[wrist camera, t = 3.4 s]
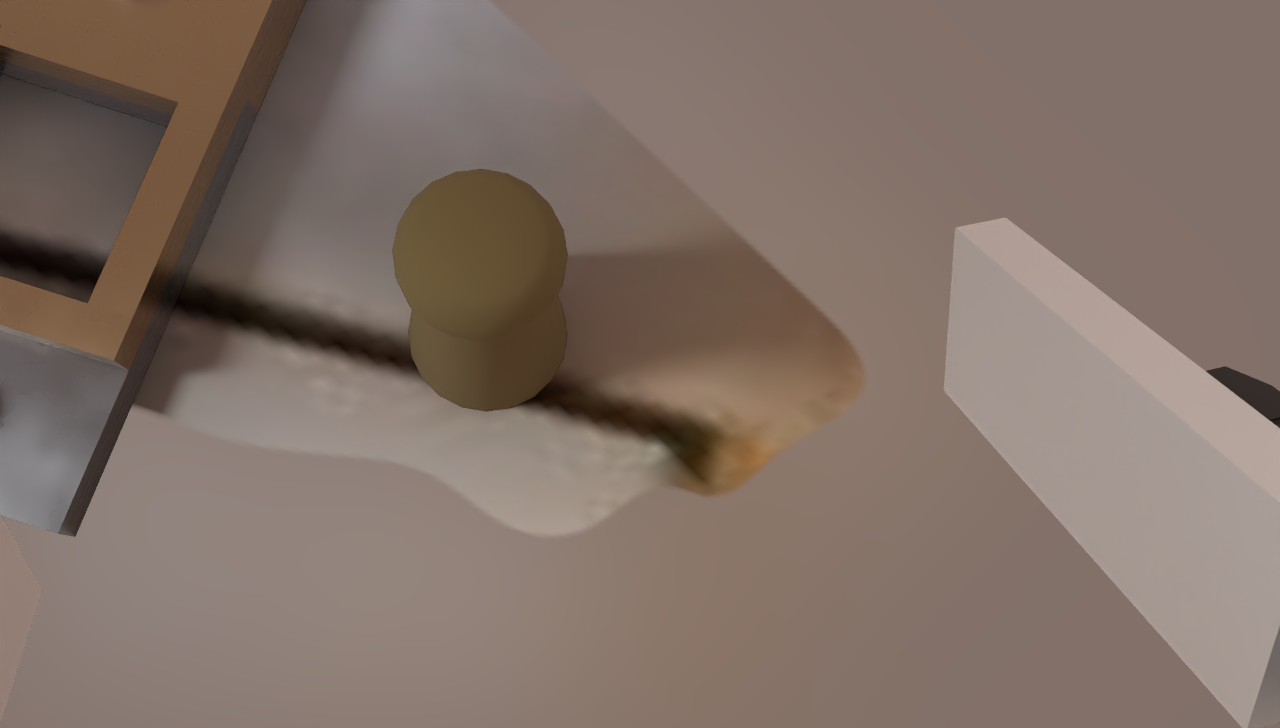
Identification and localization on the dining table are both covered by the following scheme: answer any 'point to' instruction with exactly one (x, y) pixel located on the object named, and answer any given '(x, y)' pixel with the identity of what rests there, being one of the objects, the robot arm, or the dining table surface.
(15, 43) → the slotted wooden plate
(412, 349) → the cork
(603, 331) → the dining table surface
